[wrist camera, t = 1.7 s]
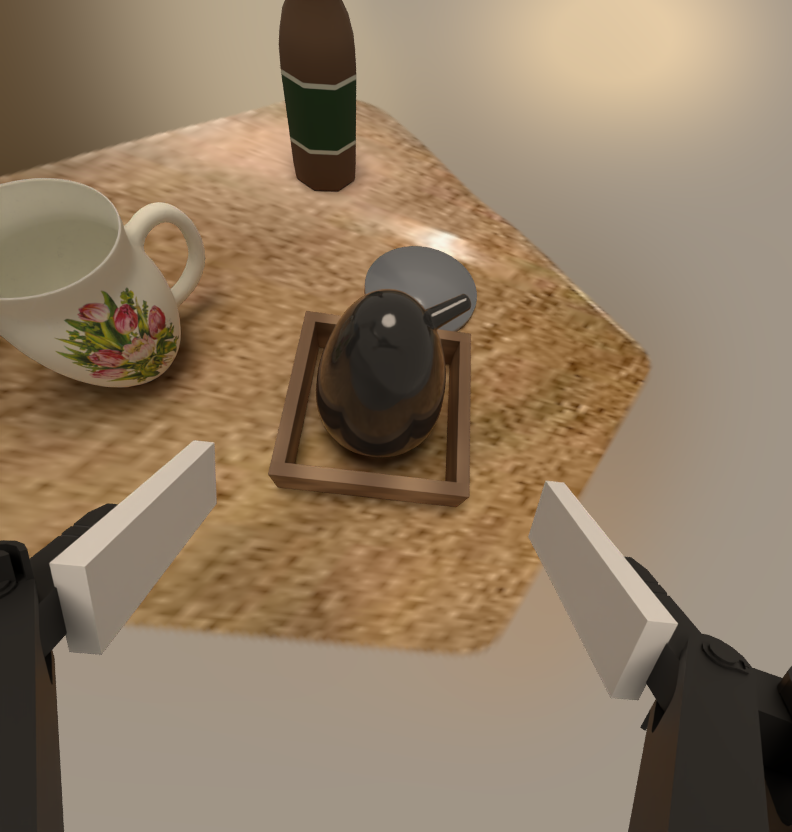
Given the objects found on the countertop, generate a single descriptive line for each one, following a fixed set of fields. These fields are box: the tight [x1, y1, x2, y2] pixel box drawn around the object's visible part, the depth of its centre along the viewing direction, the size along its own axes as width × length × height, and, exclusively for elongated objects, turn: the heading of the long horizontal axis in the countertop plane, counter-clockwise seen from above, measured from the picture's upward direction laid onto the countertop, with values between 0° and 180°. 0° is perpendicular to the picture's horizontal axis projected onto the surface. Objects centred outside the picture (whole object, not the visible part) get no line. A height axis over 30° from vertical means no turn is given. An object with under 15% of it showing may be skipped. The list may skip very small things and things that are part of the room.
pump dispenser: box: [316, 289, 471, 457], centre depth 28 cm, size 10×10×15 cm
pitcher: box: [0, 178, 205, 387], centre depth 29 cm, size 11×18×14 cm, turn 141°
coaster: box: [365, 246, 477, 332], centre depth 41 cm, size 12×12×1 cm
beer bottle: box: [279, 0, 356, 191], centre depth 37 cm, size 8×8×24 cm
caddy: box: [268, 311, 471, 507], centre depth 33 cm, size 15×15×4 cm
